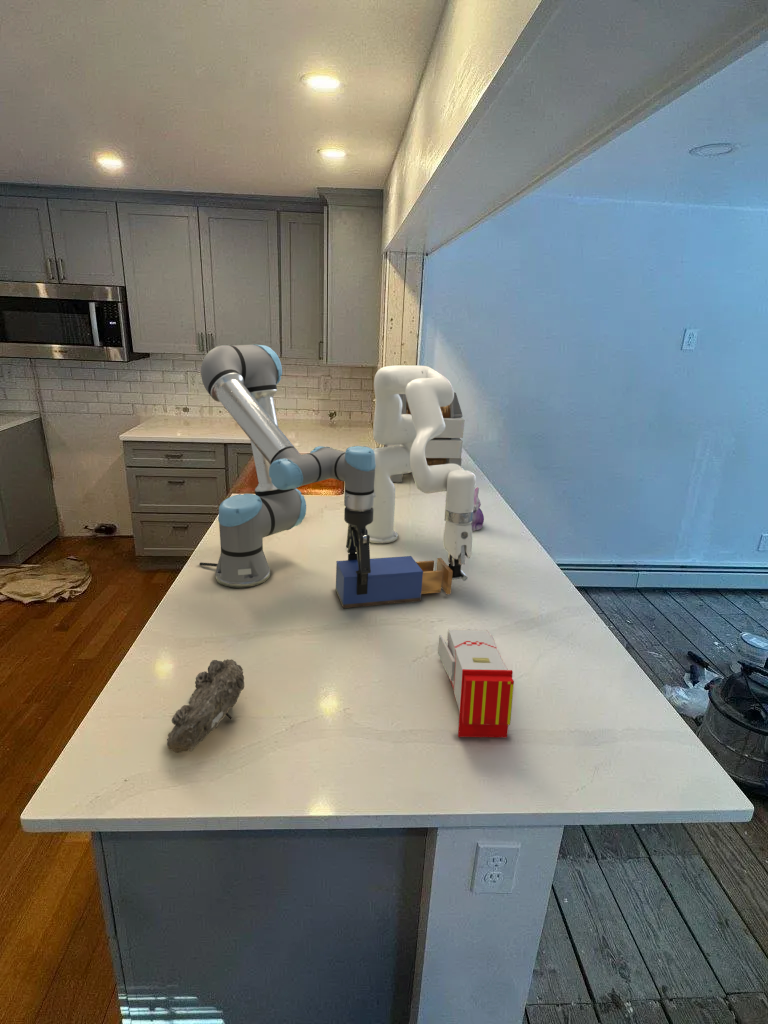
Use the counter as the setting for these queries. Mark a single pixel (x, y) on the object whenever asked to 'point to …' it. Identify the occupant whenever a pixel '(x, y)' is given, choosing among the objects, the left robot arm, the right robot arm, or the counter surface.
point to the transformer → (441, 437)
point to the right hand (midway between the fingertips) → (453, 576)
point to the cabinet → (380, 582)
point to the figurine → (477, 513)
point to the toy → (478, 682)
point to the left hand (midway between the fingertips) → (357, 584)
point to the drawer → (437, 577)
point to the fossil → (206, 705)
